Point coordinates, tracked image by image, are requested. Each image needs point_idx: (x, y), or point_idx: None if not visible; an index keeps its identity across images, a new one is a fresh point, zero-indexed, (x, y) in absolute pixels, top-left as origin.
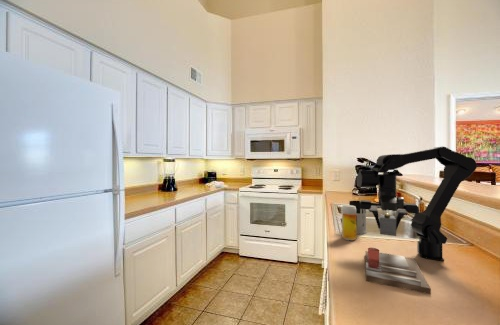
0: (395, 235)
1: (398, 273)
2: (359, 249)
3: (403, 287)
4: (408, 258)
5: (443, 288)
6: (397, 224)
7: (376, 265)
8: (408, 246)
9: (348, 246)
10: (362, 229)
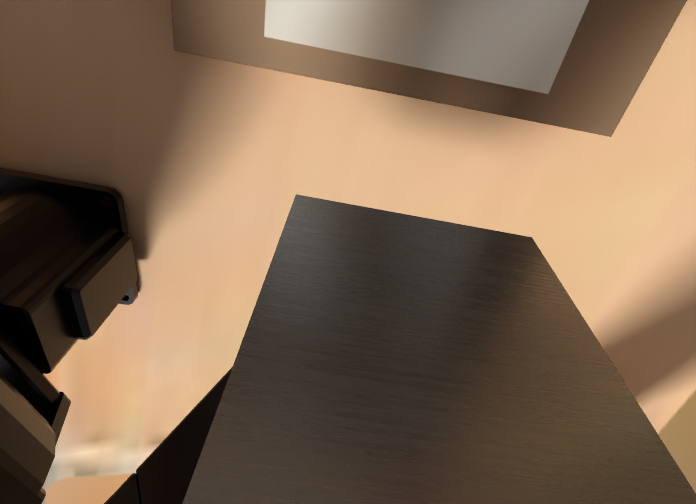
0: (305, 201)
1: None
2: (573, 248)
3: None
4: (229, 35)
5: None
6: (202, 427)
7: None
8: (187, 371)
9: (638, 290)
10: None
